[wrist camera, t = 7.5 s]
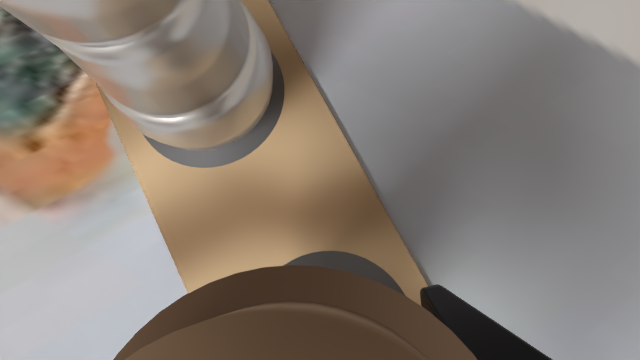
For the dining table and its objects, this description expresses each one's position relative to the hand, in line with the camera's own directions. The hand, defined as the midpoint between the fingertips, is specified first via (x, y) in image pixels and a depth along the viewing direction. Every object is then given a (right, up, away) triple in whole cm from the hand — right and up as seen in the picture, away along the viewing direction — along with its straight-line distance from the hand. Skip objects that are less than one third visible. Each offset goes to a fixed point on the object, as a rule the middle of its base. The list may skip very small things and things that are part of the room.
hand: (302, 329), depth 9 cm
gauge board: (-2, +1, +10) cm, 10 cm away
